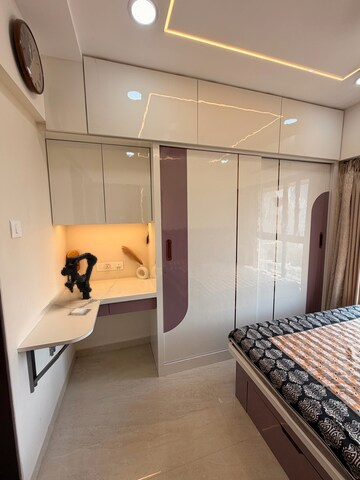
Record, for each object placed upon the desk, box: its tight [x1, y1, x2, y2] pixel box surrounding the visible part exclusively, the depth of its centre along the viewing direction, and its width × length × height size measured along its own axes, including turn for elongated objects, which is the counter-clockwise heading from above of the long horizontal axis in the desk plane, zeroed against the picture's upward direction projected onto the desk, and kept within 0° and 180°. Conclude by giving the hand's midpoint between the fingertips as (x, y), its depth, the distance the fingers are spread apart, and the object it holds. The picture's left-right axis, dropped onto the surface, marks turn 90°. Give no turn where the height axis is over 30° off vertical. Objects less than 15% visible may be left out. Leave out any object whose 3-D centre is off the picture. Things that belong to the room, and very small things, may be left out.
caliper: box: [73, 298, 98, 310], centre depth 167 cm, size 20×1×6 cm
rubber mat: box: [67, 308, 93, 316], centre depth 156 cm, size 10×14×1 cm
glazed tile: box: [70, 307, 88, 316], centre depth 154 cm, size 2×8×7 cm
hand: (75, 290), depth 168 cm, fingers open, 9 cm apart
